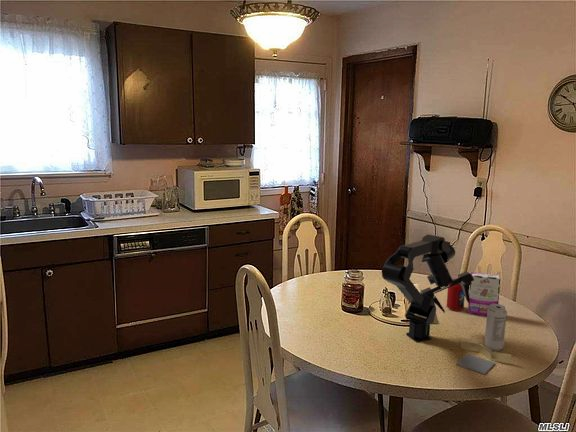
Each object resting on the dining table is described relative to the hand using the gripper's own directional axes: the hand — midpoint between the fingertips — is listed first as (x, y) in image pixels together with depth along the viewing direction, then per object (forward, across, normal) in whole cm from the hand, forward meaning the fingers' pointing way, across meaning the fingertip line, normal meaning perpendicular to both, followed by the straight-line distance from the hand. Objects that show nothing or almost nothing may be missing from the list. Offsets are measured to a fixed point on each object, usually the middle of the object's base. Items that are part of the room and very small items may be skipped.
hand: (456, 307), depth 171 cm
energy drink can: (+16, -5, +7) cm, 18 cm away
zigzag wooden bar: (+14, 0, +13) cm, 20 cm away
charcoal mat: (+13, +4, +20) cm, 24 cm away
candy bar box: (+13, -11, -23) cm, 29 cm away
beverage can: (+8, -2, -27) cm, 28 cm away
